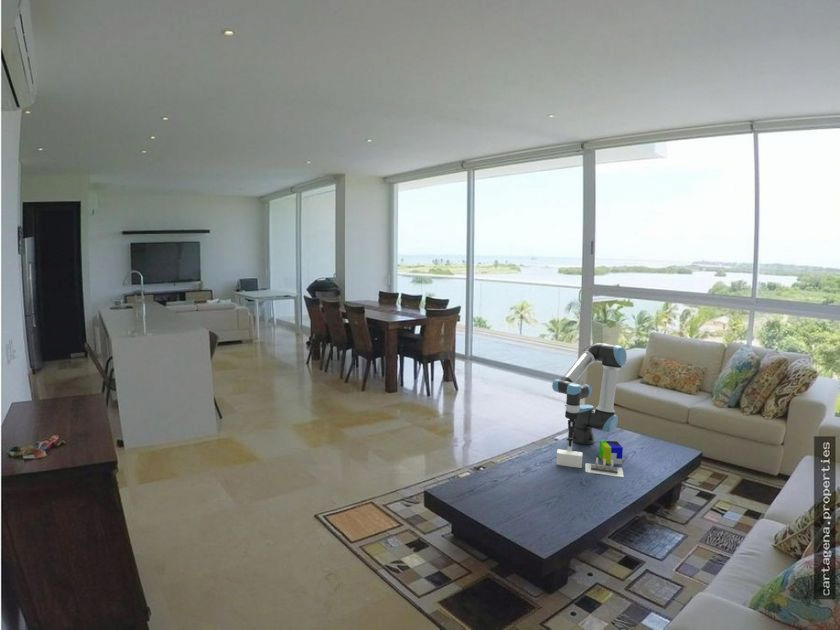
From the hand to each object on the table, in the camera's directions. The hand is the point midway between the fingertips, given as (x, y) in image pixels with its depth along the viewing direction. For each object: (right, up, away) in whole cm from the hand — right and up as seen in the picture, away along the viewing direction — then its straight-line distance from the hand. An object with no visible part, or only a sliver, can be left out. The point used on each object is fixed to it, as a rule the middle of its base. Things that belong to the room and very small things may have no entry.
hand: (569, 446), depth 300 cm
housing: (0, -10, +2) cm, 11 cm away
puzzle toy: (+26, -10, +8) cm, 29 cm away
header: (+18, -12, -6) cm, 22 cm away
